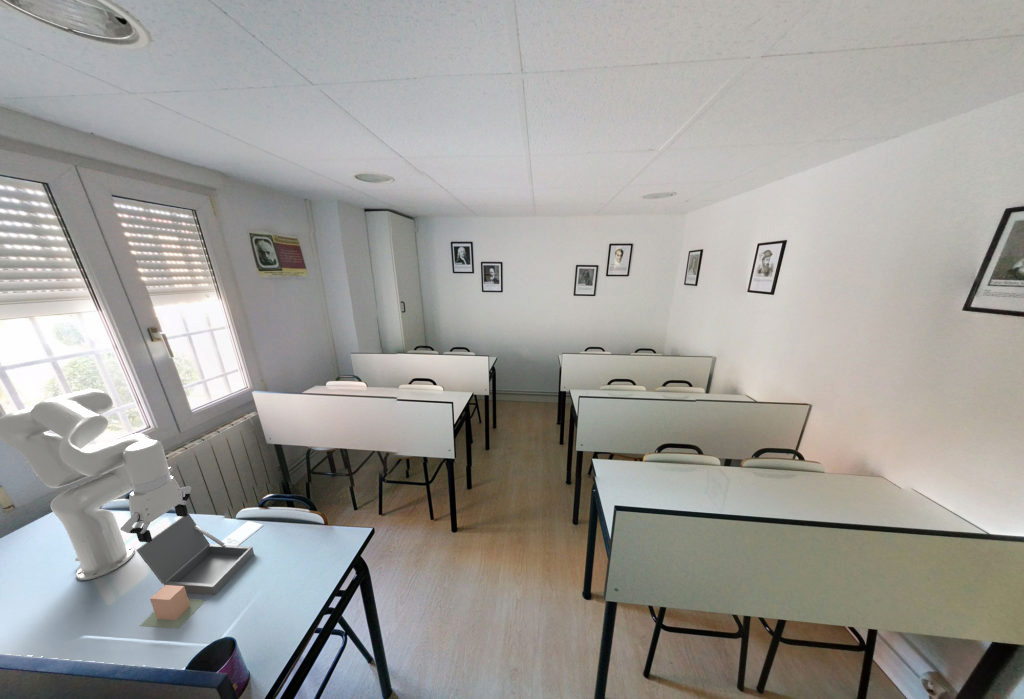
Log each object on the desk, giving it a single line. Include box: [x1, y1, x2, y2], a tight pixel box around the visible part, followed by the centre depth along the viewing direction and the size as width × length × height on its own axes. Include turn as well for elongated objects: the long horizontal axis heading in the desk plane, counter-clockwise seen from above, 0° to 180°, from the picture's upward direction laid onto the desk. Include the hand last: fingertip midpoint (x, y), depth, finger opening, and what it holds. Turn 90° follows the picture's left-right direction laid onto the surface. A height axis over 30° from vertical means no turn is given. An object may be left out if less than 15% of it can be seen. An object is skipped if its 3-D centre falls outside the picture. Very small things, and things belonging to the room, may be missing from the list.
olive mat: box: [139, 598, 207, 629], centre depth 94 cm, size 12×8×1 cm, turn 88°
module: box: [149, 585, 190, 620], centre depth 93 cm, size 6×4×8 cm, turn 88°
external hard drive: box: [216, 520, 265, 546], centre depth 121 cm, size 2×8×12 cm
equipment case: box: [135, 512, 255, 596], centre depth 104 cm, size 22×15×17 cm
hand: (165, 527), depth 96 cm, fingers open, 9 cm apart
